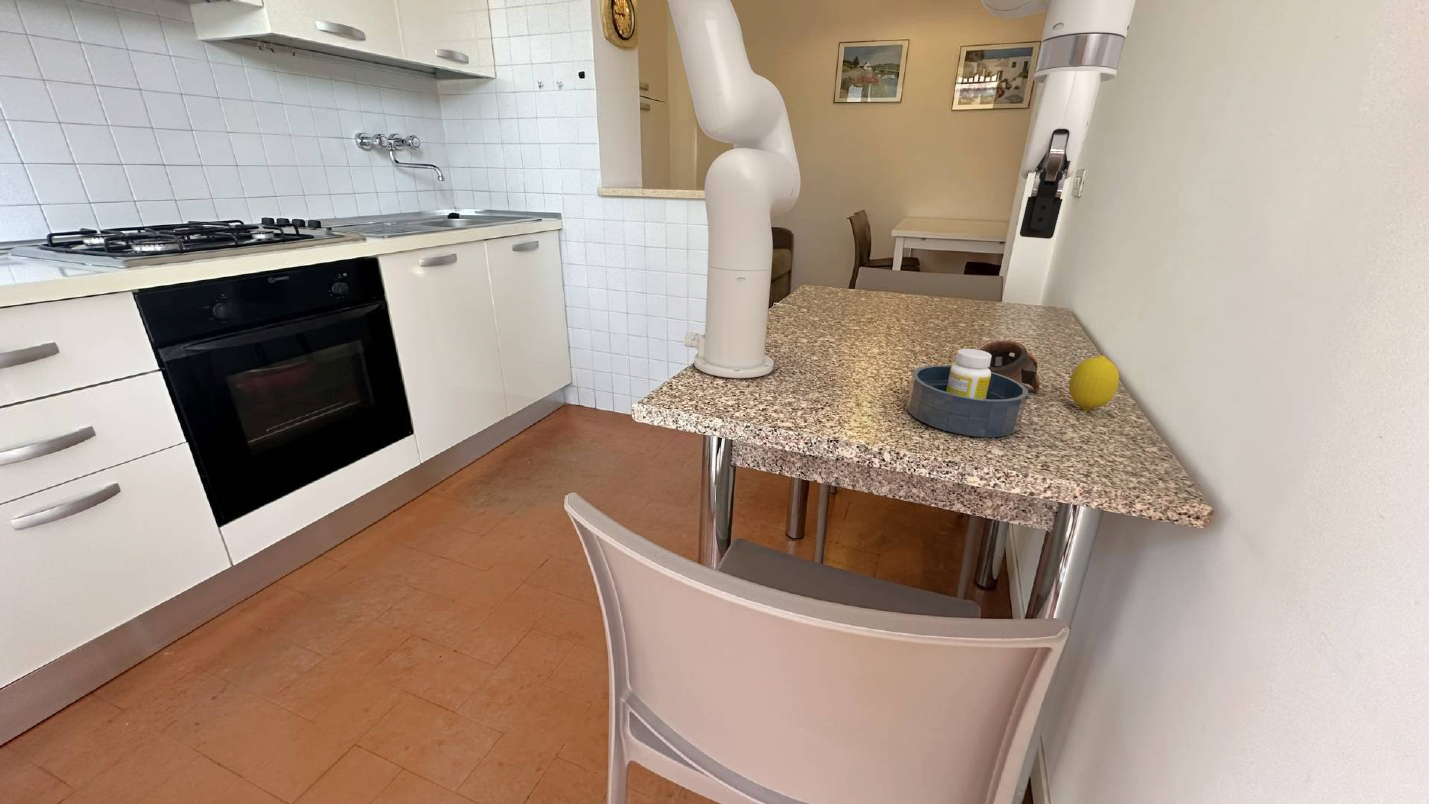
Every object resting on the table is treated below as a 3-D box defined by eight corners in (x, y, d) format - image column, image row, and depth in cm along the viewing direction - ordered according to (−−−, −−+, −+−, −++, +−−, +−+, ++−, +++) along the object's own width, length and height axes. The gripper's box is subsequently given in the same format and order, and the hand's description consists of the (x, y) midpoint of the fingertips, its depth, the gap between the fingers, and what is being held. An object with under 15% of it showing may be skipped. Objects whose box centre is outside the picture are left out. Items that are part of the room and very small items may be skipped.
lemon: (1082, 402, 83) (1098, 348, 80) (1118, 416, 78) (1137, 360, 75) (1053, 404, 81) (1068, 350, 78) (1087, 420, 76) (1105, 362, 73)
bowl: (897, 423, 72) (904, 386, 70) (915, 392, 83) (921, 359, 81) (1017, 449, 66) (1027, 409, 64) (1019, 412, 78) (1028, 377, 76)
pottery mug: (1053, 404, 82) (1045, 359, 78) (984, 423, 85) (973, 381, 81) (1023, 360, 92) (1015, 318, 88) (963, 379, 95) (952, 339, 91)
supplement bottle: (976, 410, 76) (990, 349, 73) (985, 423, 72) (1000, 360, 69) (938, 406, 77) (951, 346, 74) (945, 419, 73) (958, 356, 70)
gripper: (1035, 78, 68) (1002, 228, 74) (1036, 46, 53) (995, 236, 60) (1109, 76, 65) (1068, 233, 71) (1132, 42, 50) (1078, 243, 56)
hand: (1035, 234), depth 65 cm, fingers open, 9 cm apart
